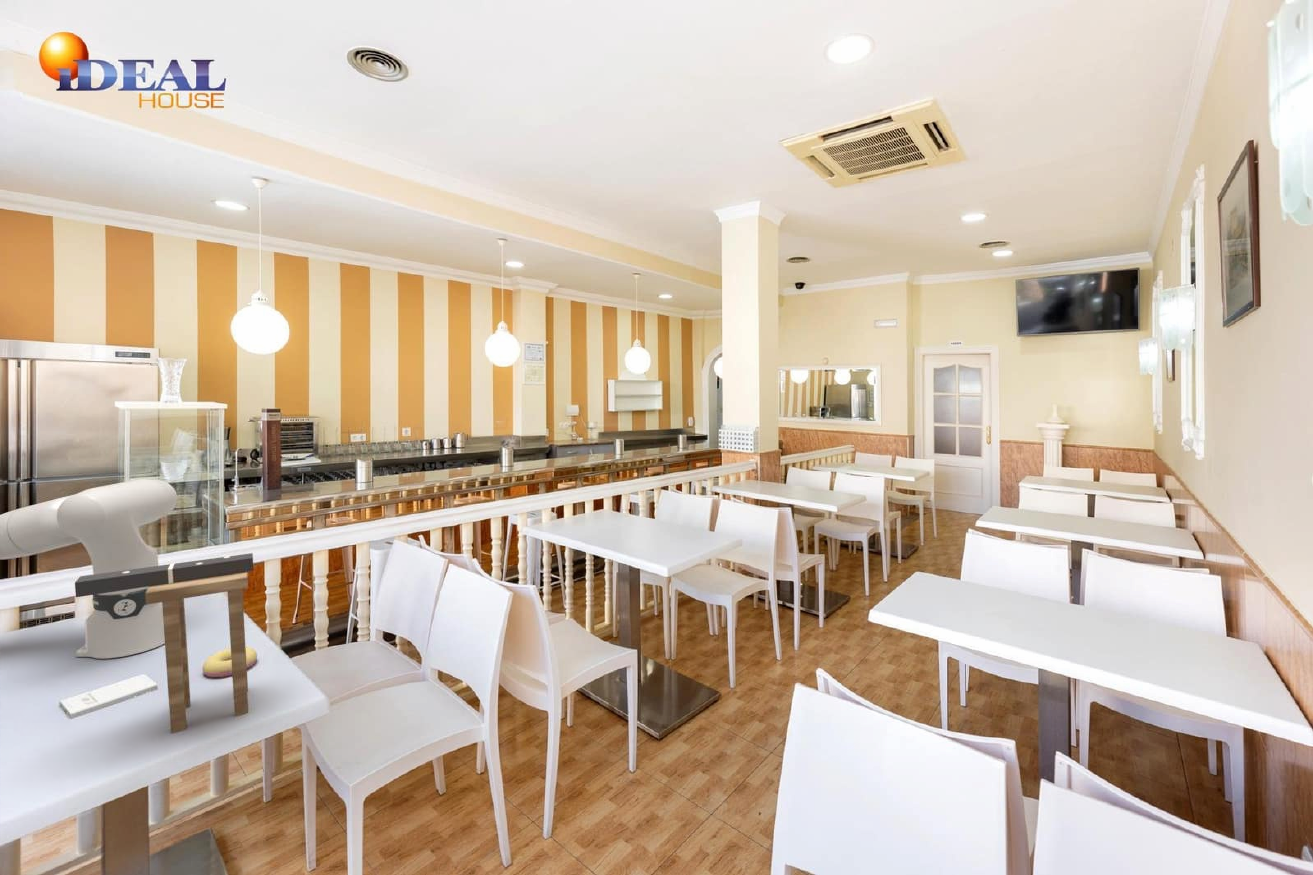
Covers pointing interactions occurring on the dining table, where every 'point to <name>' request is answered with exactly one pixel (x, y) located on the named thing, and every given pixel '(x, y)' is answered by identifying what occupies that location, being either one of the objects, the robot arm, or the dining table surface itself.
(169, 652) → the stool
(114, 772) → the dining table surface
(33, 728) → the dining table surface
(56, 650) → the dining table surface
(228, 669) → the donut
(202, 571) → the domino
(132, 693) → the external hard drive
